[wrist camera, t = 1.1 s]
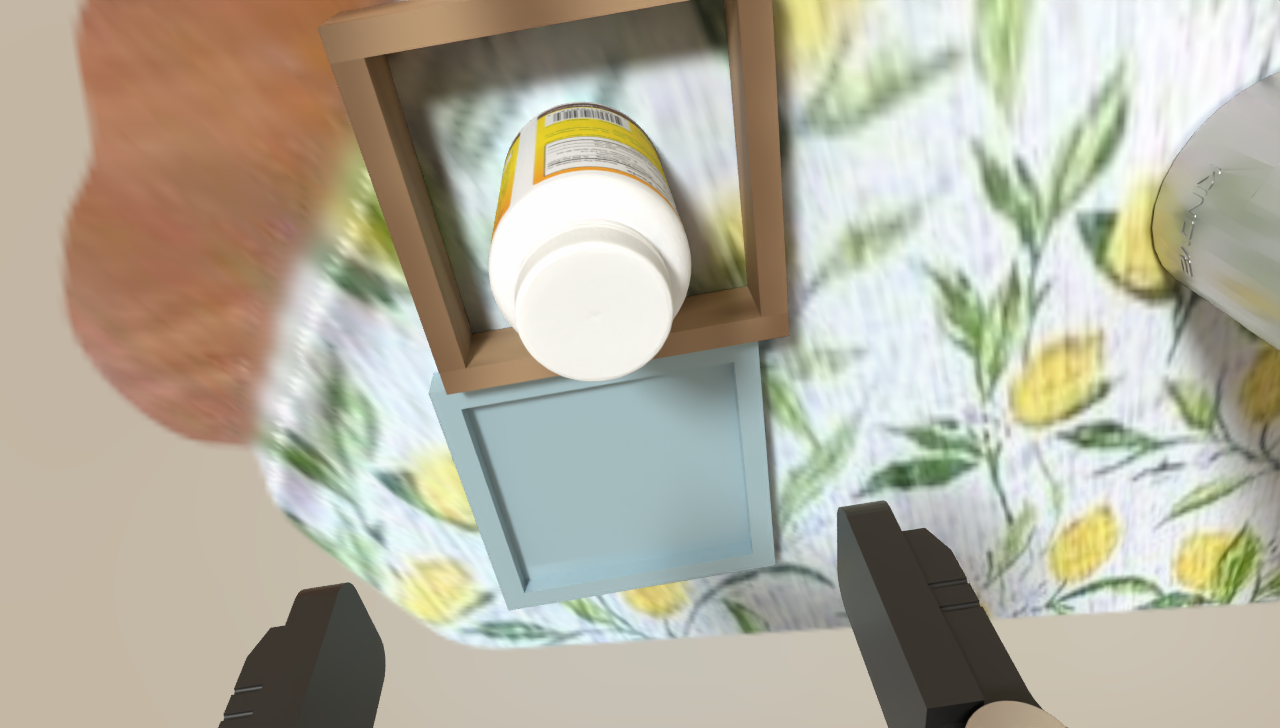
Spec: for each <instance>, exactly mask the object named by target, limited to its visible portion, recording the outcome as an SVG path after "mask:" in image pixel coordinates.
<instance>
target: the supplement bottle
mask: <svg viewBox="0 0 1280 728" xmlns="http://www.w3.org/2000/svg"><path fill="white" fill-rule="evenodd" d="M690 277H691V254H690V248H689V244H688V240H687V236H686V233H685V230H684V227H683V224H682V222H681V219H680V217H679V214H678V211H677V208H676V205H675V203H674V200H673V197H672V194H671V191H670V188H669V185H668V182H667V180H666V177H665V174H664V171H663V169H662V166H661V163H660V160H659V157H658V154H657V152H656V149H655V148H654V146H653V144H652V142H651V140H650V139H649V137H648V136H647V135H646V133H645V132H644V131H643V130H642V128H641V127H640V126H639V125H638V124H637V123H636V122H635V121H633V120H632V119H631V118H629V117H628V116H627V115H625V114H623V113H622V112H620V111H618V110H616V109H614V108H611V107H608V106H605V105H602V104H598V103H592V102H572V103H566V104H561V105H558V106H555V107H552V108H550V109H548V110H546V111H544V112H542V113H540V114H538V115H537V116H536V117H534V118H533V119H532V120H530V121H529V122H528V123H527V124H526V125H525V126H524V127H523V128H522V129H521V130H520V132H519V133H518V134H517V136H516V137H515V139H514V141H513V142H512V144H511V146H510V149H509V151H508V154H507V157H506V160H505V165H504V169H503V175H502V182H501V188H500V194H499V199H498V206H497V211H496V217H495V222H494V228H493V233H492V240H491V247H490V254H489V278H490V284H491V289H492V293H493V296H494V298H495V301H496V303H497V305H498V307H499V309H500V311H501V313H502V314H503V316H504V317H505V319H506V320H507V321H508V323H509V324H510V325H511V326H512V327H513V328H514V330H515V331H516V332H518V333H519V336H520V339H521V340H522V342H523V344H524V346H525V347H526V349H527V350H528V352H529V353H530V354H531V355H532V356H533V357H534V358H535V359H536V360H537V361H538V362H539V363H540V364H542V365H543V366H544V367H546V368H547V369H548V370H550V371H552V372H554V373H556V374H559V375H561V376H563V377H566V378H569V379H574V380H579V381H588V382H598V381H607V380H612V379H617V378H620V377H623V376H625V375H628V374H630V373H632V372H635V371H636V370H638V369H640V368H641V367H643V366H644V365H645V364H647V363H648V362H649V361H650V360H651V359H652V358H653V357H654V356H655V355H656V354H657V353H658V352H659V351H660V349H661V348H662V346H663V345H664V343H665V341H666V339H667V337H668V335H669V333H670V330H671V326H672V322H673V319H674V318H675V316H676V315H677V313H678V312H679V310H680V308H681V306H682V304H683V302H684V299H685V297H686V294H687V291H688V287H689V283H690Z"/></svg>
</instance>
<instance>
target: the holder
mask: <svg viewBox="0 0 1280 728" xmlns="http://www.w3.org/2000/svg"><path fill="white" fill-rule="evenodd" d="M682 1H688V0H408V1H402V2H396V3H391V4H385V5H380V6H374V7H368V8H363V9H357V10H351V11H346V12H340V13H337V14H336V15H334V16H333V17H332V18H330V19H329V20H327V21H326V22H324V23H323V24H322V25H320V26H319V27H317V28H318V31H319V34H320V37H321V40H322V42H323V45H324V48H325V51H326V54H327V57H328V59H329V62H330V65H331V68H332V71H333V74H334V76H335V79H336V82H337V85H338V88H339V91H340V93H341V96H342V99H343V102H344V105H345V108H346V110H347V113H348V116H349V119H350V122H351V125H352V127H353V130H354V133H355V136H356V139H357V142H358V144H359V147H360V150H361V153H362V156H363V159H364V161H365V164H366V167H367V170H368V173H369V176H370V178H371V181H372V184H373V187H374V190H375V193H376V195H377V198H378V201H379V204H380V207H381V210H382V212H383V215H384V218H385V221H386V224H387V227H388V229H389V232H390V235H391V238H392V241H393V244H394V246H395V249H396V252H397V255H398V258H399V261H400V263H401V266H402V269H403V272H404V275H405V278H406V280H407V283H408V286H409V289H410V292H411V295H412V297H413V300H414V303H415V306H416V309H417V312H418V315H419V317H420V320H421V323H422V326H423V329H424V332H425V334H426V337H427V340H428V343H429V346H430V349H431V351H432V354H433V357H434V360H435V363H436V366H437V368H438V371H439V374H440V377H441V380H442V383H443V385H444V388H445V391H446V394H447V395H450V394H456V393H461V392H467V391H473V390H479V389H484V388H490V387H496V386H502V385H508V384H513V383H519V382H525V381H531V380H536V379H542V378H548V377H554V376H560V375H559V374H556V373H554V372H552V371H550V370H548V369H547V368H546V367H544V366H543V365H542V364H540V363H539V362H538V361H537V360H536V359H535V358H534V357H533V356H532V355H531V354H530V353H529V352H528V350H527V349H526V347H525V346H524V344H523V342H522V340H521V339H520V336H519V333H518V332H516V331H515V330H514V328H513V327H509V328H504V329H498V330H492V331H486V332H481V333H475V334H472V331H471V328H470V325H469V322H468V319H467V315H466V312H465V309H464V306H463V303H462V299H461V296H460V293H459V290H458V287H457V284H456V280H455V277H454V274H453V271H452V268H451V264H450V261H449V258H448V255H447V252H446V248H445V245H444V242H443V239H442V236H441V233H440V229H439V226H438V223H437V220H436V217H435V213H434V210H433V207H432V204H431V201H430V198H429V194H428V191H427V188H426V185H425V182H424V178H423V175H422V172H421V169H420V166H419V162H418V159H417V156H416V153H415V150H414V147H413V143H412V140H411V137H410V134H409V131H408V127H407V124H406V121H405V118H404V115H403V111H402V108H401V105H400V102H399V99H398V96H397V92H396V89H395V86H394V83H393V80H392V76H391V73H390V70H389V67H388V64H387V61H386V57H385V54H389V53H394V52H400V51H406V50H411V49H417V48H423V47H428V46H434V45H440V44H445V43H451V42H456V41H462V40H468V39H473V38H479V37H485V36H490V35H496V34H502V33H507V32H513V31H518V30H524V29H530V28H535V27H541V26H547V25H552V24H558V23H564V22H569V21H575V20H580V19H586V18H592V17H597V16H603V15H609V14H614V13H620V12H626V11H631V10H637V9H642V8H648V7H654V6H659V5H665V4H671V3H676V2H682ZM724 6H725V18H726V30H727V42H728V54H729V66H730V79H731V91H732V103H733V115H734V127H735V139H736V151H737V163H738V176H739V188H740V200H741V212H742V224H743V236H744V248H745V260H746V272H747V285H748V286H745V287H739V288H734V289H728V290H722V291H716V292H711V293H705V294H699V295H693V296H688V297H685V299H684V302H683V304H682V306H681V308H680V310H679V312H678V313H677V315H676V316H675V318H674V319H673V322H672V326H671V330H670V333H669V335H668V337H667V339H666V341H665V343H664V345H663V346H662V348H661V349H660V351H659V352H658V353H657V354H656V355H655V356H654V357H653V358H652V359H658V358H664V357H669V356H675V355H681V354H687V353H692V352H698V351H704V350H710V349H716V348H721V347H727V346H733V345H739V344H744V343H750V342H756V341H762V340H768V339H773V338H779V337H785V336H789V317H788V297H787V278H786V258H785V239H784V219H783V200H782V180H781V161H780V141H779V122H778V102H777V83H776V63H775V44H774V24H773V5H772V0H724ZM652 359H651V360H652Z"/></svg>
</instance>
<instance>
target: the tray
mask: <svg viewBox="0 0 1280 728" xmlns="http://www.w3.org/2000/svg"><path fill="white" fill-rule="evenodd" d="M429 396H430V398H431V401H432V404H433V406H434V409H435V412H436V415H437V417H438V420H439V423H440V425H441V428H442V431H443V434H444V436H445V439H446V442H447V444H448V447H449V450H450V453H451V455H452V458H453V461H454V463H455V466H456V469H457V472H458V474H459V477H460V480H461V482H462V485H463V488H464V491H465V493H466V496H467V499H468V502H469V504H470V507H471V510H472V512H473V515H474V518H475V521H476V523H477V526H478V529H479V531H480V534H481V537H482V540H483V542H484V545H485V548H486V550H487V553H488V556H489V559H490V561H491V564H492V567H493V569H494V572H495V575H496V578H497V580H498V583H499V586H500V588H501V591H502V594H503V597H504V599H505V602H506V605H507V607H508V610H515V609H520V608H526V607H532V606H538V605H544V604H550V603H556V602H561V601H567V600H573V599H579V598H585V597H591V596H597V595H603V594H608V593H614V592H620V591H626V590H632V589H638V588H644V587H650V586H655V585H661V584H667V583H673V582H679V581H685V580H691V579H697V578H702V577H708V576H714V575H720V574H726V573H732V572H738V571H743V570H749V569H755V568H761V567H767V566H773V565H775V553H774V540H773V528H772V515H771V502H770V489H769V476H768V463H767V450H766V437H765V425H764V412H763V399H762V386H761V373H760V360H759V347H758V341H756V342H750V343H744V344H739V345H733V346H727V347H721V348H716V349H710V350H704V351H698V352H692V353H687V354H681V355H675V356H669V357H664V358H658V359H652V360H650V361H649V362H648V363H647V364H645V365H644V366H643V367H641V368H640V369H638V370H636V371H635V372H632V373H630V374H628V375H625V376H623V377H620V378H617V379H612V380H607V381H598V382H588V381H579V380H574V379H569V378H566V377H563V376H561V375H560V376H554V377H548V378H542V379H536V380H531V381H525V382H519V383H513V384H508V385H502V386H496V387H490V388H484V389H479V390H473V391H467V392H461V393H456V394H450V395H447V394H446V391H445V388H444V385H443V383H442V380H441V377H440V374H439V373H434V374H433V378H432V382H431V386H430V390H429Z"/></svg>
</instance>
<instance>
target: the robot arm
mask: <svg viewBox="0 0 1280 728" xmlns="http://www.w3.org/2000/svg"><path fill="white" fill-rule="evenodd" d="M1152 231H1153V239H1154V246H1155V250H1156V252H1157V255H1158V257H1159V259H1160V261H1161V263H1162V265H1163V267H1164V268H1165V269H1166V270H1167V271H1168V272H1169V273H1170V274H1171V275H1172V276H1173V277H1174V278H1175V279H1176V280H1178V281H1179V282H1181V283H1182V284H1184V285H1185V286H1186V287H1188V288H1189V289H1191V290H1192V291H1194V292H1195V293H1197V294H1198V295H1200V296H1201V297H1203V298H1204V299H1205V300H1207V301H1208V302H1210V303H1211V304H1213V305H1214V306H1216V307H1217V308H1219V309H1220V310H1222V311H1223V312H1224V313H1226V314H1227V315H1229V316H1230V317H1232V318H1233V319H1235V320H1236V321H1238V322H1239V323H1241V324H1242V325H1243V326H1244V327H1246V328H1247V329H1248V330H1250V331H1251V332H1253V333H1254V334H1256V335H1257V336H1259V337H1260V338H1262V339H1263V340H1265V341H1266V342H1267V343H1269V344H1270V345H1272V346H1273V347H1275V348H1276V349H1278V350H1279V351H1280V72H1278V73H1275V74H1273V75H1270V76H1268V77H1267V78H1265V79H1263V80H1261V81H1259V82H1258V83H1256V84H1254V85H1252V86H1250V87H1249V88H1247V89H1245V90H1243V91H1242V92H1241V93H1239V94H1238V95H1237V96H1235V97H1234V98H1233V99H1231V100H1230V101H1229V102H1227V103H1226V104H1225V105H1223V106H1222V107H1221V108H1219V109H1218V110H1217V111H1216V112H1215V113H1214V114H1213V115H1212V116H1211V117H1210V118H1209V119H1208V120H1207V121H1206V122H1205V123H1204V124H1203V125H1202V126H1201V127H1200V128H1199V129H1198V130H1197V131H1196V132H1195V133H1194V134H1193V136H1192V137H1191V138H1190V140H1189V141H1188V142H1187V144H1186V145H1185V146H1184V148H1183V149H1182V150H1181V152H1180V153H1179V154H1178V156H1177V157H1176V159H1175V161H1174V162H1173V164H1172V166H1171V168H1170V170H1169V172H1168V174H1167V175H1166V177H1165V179H1164V181H1163V183H1162V186H1161V189H1160V192H1159V195H1158V198H1157V201H1156V204H1155V209H1154V218H1153V226H1152ZM837 570H838V581H839V587H840V592H841V596H842V600H843V604H844V607H845V610H846V613H847V615H848V618H849V621H850V624H851V626H852V629H853V632H854V635H855V637H856V640H857V643H858V646H859V648H860V651H861V654H862V657H863V659H864V662H865V665H866V667H867V670H868V673H869V676H870V678H871V681H872V684H873V687H874V689H875V692H876V695H877V698H878V700H879V703H880V706H881V708H882V711H883V714H884V717H885V720H886V722H887V725H888V728H1067V727H1065V726H1064V724H1062V723H1061V722H1060V721H1059V720H1057V719H1056V718H1055V717H1054V716H1052V715H1051V714H1049V713H1047V712H1046V711H1044V710H1043V709H1042V708H1041V707H1040V706H1039V704H1038V703H1037V702H1036V701H1035V700H1034V698H1033V697H1032V695H1031V694H1030V692H1029V691H1028V689H1027V687H1026V685H1025V683H1024V682H1023V680H1022V678H1021V676H1020V674H1019V672H1018V671H1017V669H1016V667H1015V665H1014V663H1013V662H1012V660H1011V658H1010V656H1009V654H1008V653H1007V651H1006V649H1005V647H1004V645H1003V643H1002V642H1001V640H1000V638H999V636H998V635H997V633H996V631H995V629H994V627H993V625H992V623H991V622H990V620H989V618H988V616H987V614H986V612H985V611H984V609H983V607H981V606H980V604H979V600H978V598H977V596H976V594H975V592H974V591H973V589H972V587H971V585H970V583H969V584H968V583H967V579H966V576H965V574H964V572H963V571H962V569H961V567H960V565H959V563H958V561H957V560H956V558H955V556H954V554H953V552H952V551H951V549H949V548H948V547H947V546H946V545H945V544H943V543H942V542H941V541H940V540H939V539H937V538H936V537H935V536H934V535H933V534H932V533H930V532H929V531H928V530H927V529H926V528H921V529H915V530H908V531H901V529H900V527H899V524H898V522H897V520H896V518H895V516H894V514H893V512H892V510H891V508H890V506H889V505H888V503H887V502H886V501H877V502H871V503H864V504H858V505H851V506H845V507H839V508H838V512H837ZM384 677H385V653H384V647H383V643H382V640H381V638H380V636H379V634H378V632H377V630H376V628H375V626H374V624H373V622H372V620H371V618H370V616H369V614H368V612H367V610H366V608H365V606H364V604H363V602H362V600H361V598H360V596H359V594H358V592H357V590H356V589H355V587H354V586H353V585H352V584H351V583H341V584H335V585H329V586H322V587H316V588H309V589H304V590H302V591H300V592H299V593H298V595H297V596H296V598H295V601H294V603H293V606H292V609H291V611H290V614H289V617H288V619H287V622H286V625H285V626H280V627H273V628H270V629H269V631H268V632H267V633H266V634H265V636H264V637H263V638H262V640H261V641H260V642H259V643H258V644H257V645H256V647H255V648H254V649H253V650H252V652H251V653H250V654H249V655H248V657H247V658H246V661H245V663H244V666H243V668H242V671H241V673H240V676H239V678H238V680H237V683H236V685H235V688H234V690H235V694H234V695H231V698H230V700H229V703H228V705H227V707H226V710H225V713H224V721H221V723H220V725H219V727H218V728H373V725H374V721H375V717H376V713H377V708H378V704H379V699H380V695H381V691H382V686H383V682H384Z"/></svg>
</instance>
